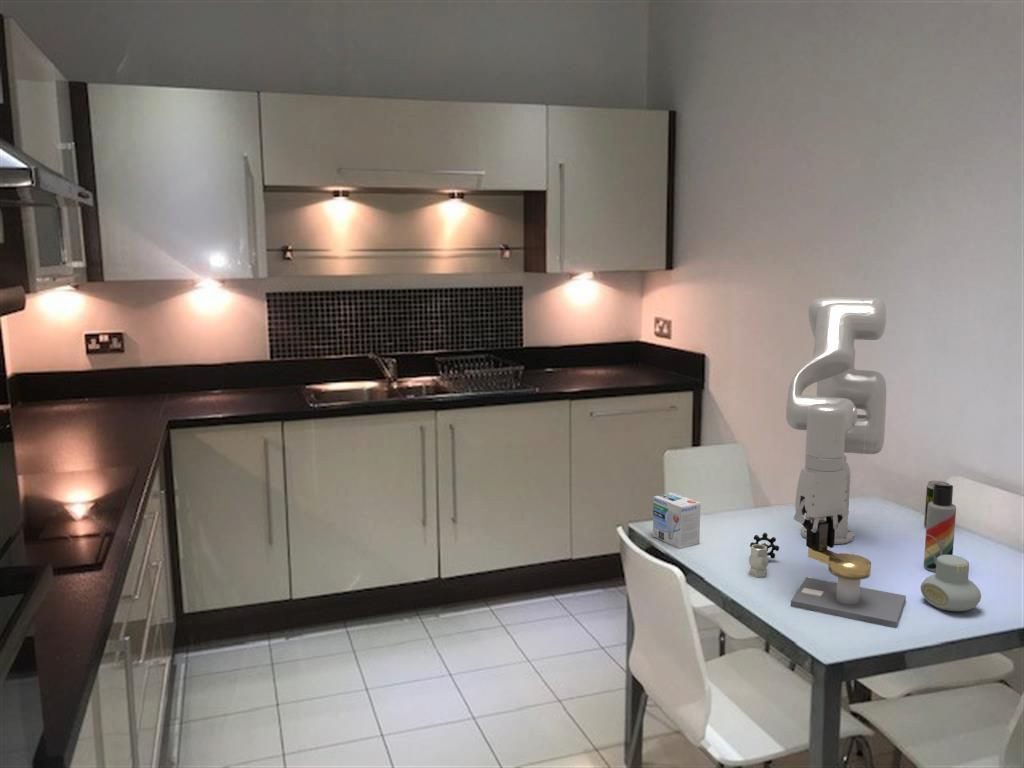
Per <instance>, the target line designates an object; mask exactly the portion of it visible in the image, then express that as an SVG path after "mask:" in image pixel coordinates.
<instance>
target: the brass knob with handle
mask: <svg viewBox="0 0 1024 768" xmlns="http://www.w3.org/2000/svg"><path fill="white" fill-rule="evenodd" d="M828 528H829V522H827V521H825V520H819V521H818V528H817V532H819V549H818V550H813V549H811V548H809V547H807V548H808V549H807V550H808V551H807V552H808V553H807V557H808V558H811V559H813V560H815V561H818V562H819V563H822V564H824V565H827V566H828V572H829V574H831V575H833V576H835V577H840V578H845V579H852V580H860V581H861V580H867V579H868V578H870V577H871V573H872V572H871V571H872V570H871V569H872V562H871V560H870V559H869V558H867V557H865V556H862V555H858V554H854V553H836V552H835V551H831V550H830V549H828V548H829V547H828Z"/></svg>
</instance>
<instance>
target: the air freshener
mask: <svg viewBox="0 0 1024 768" xmlns="http://www.w3.org/2000/svg"><path fill="white" fill-rule="evenodd" d="M969 569H970V561H969V560H967V558H964V557H962V556H959V555H941V556H939V557H938V558H937V562H936V572H935V573H934V574H932V575H929V576H928V577H925V579H924V580H923V581H922V582H921V585H920V592H921V594H922V596H923V597H924V599H925V600H926V601H927V602H928V603H929V604H931V605H933V606H934V607H935V608H937V609H939V610H942V611H947V612H964V611H969V610H971V609H972V610H973V608H975V607H977V606H978V605H979V604H980V602H981V599H982V594H981V590H980V588H979V587H978V586H977V585H976V583H974V582H973V581H971V579H969V571H970V570H969Z"/></svg>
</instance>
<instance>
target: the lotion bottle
mask: <svg viewBox="0 0 1024 768" xmlns="http://www.w3.org/2000/svg"><path fill="white" fill-rule="evenodd" d="M953 495H954V485H952V484H950V485H946V484H934V490H933V502H929V503H928V510H927V524H926V528H925V539H924V540H925V542H924V552H923V553H924V554H923V555H924V556H923V567H924V568H925V570H927V571H929V572H932V573H936V562H937V558H938V557H939V556H941V555H953V554H954V553H953V552H954V541H955V529H956V516H957V507H956V505H955V504H953Z"/></svg>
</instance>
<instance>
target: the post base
mask: <svg viewBox="0 0 1024 768" xmlns="http://www.w3.org/2000/svg"><path fill="white" fill-rule="evenodd" d="M836 577H837V576H836ZM836 580H837V581H836V582H834V581H830V580H825V579H824V580H823V579H819V578H813V577H808V576H806V577H805V578H804V579H803V582H802V583H801V585H800V586H799V588H798V589H797V591H796V592H795V594H794V595H793V597H792V598H791V599H790V607H793V608H797V609H802V610H807V611H813V612H816V613H822V614H827V615H832V616H837V617H842V618H847V619H851V620H856V621H861V622H866V623H871V624H875V625H880V626H886V627H890V628H895V629H896V628H897V626H898V623H899V620H900V618H901V616H902V613H903V609H904V607H905V603H906V599H907V596H906V594H905V595H904V594H900V593H899V594H898V593H895V592H889V591H883V590H879V589H873V588H866V587H863V586H862V587H861V579H860V580H852V579H845V578H840V577H837V579H836Z"/></svg>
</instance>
